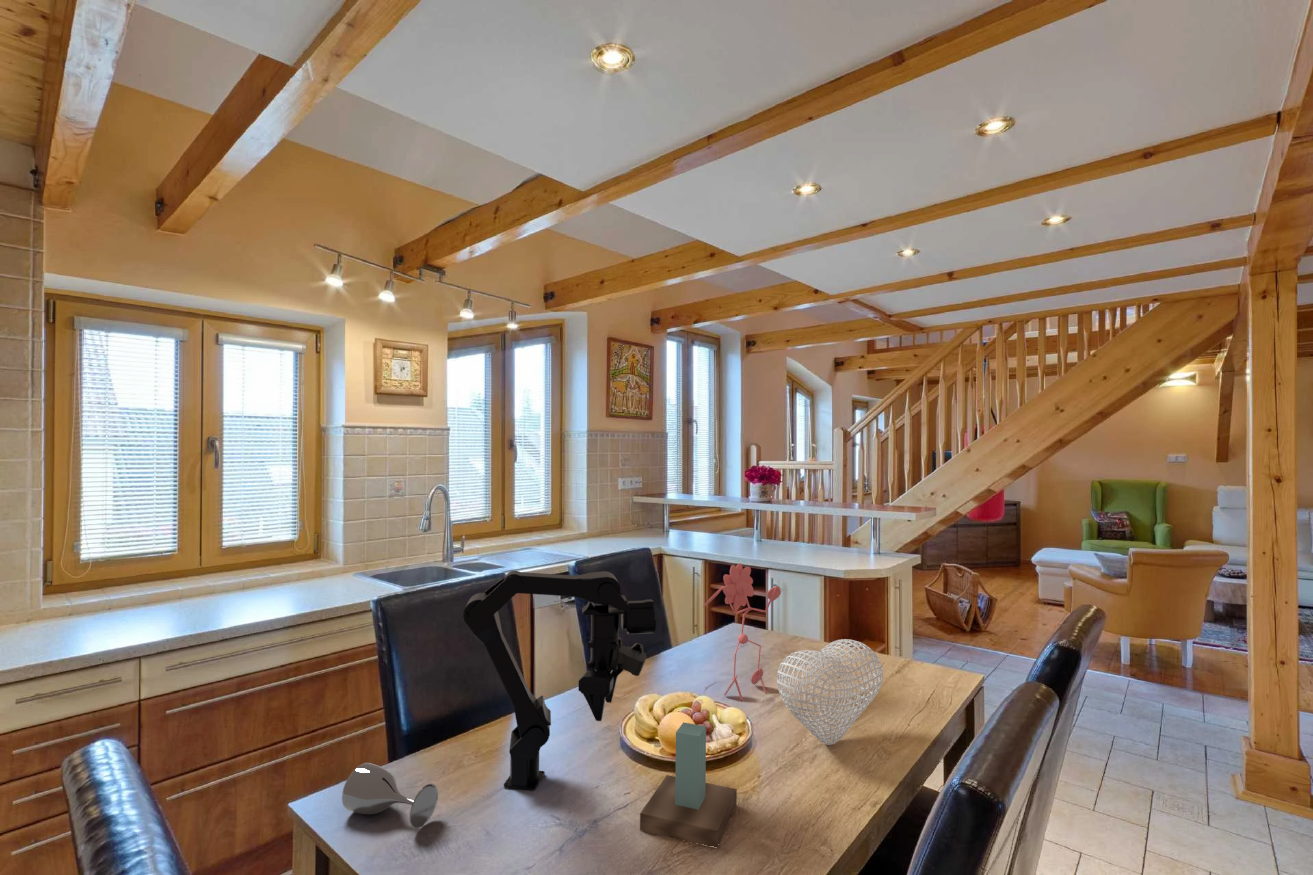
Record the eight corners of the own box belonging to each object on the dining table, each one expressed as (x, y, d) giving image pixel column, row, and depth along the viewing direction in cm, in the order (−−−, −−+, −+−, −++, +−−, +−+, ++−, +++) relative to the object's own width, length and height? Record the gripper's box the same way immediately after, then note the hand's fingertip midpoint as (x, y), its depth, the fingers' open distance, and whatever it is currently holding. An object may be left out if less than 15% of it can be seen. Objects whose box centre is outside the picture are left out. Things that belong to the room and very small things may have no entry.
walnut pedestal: (639, 830, 112) (640, 813, 112) (666, 790, 126) (666, 775, 126) (717, 848, 108) (717, 831, 108) (736, 805, 121) (736, 789, 121)
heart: (840, 717, 160) (840, 628, 161) (895, 740, 148) (896, 644, 148) (762, 748, 144) (763, 648, 144) (817, 777, 131) (818, 668, 131)
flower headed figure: (789, 687, 180) (787, 562, 181) (722, 710, 164) (720, 572, 165) (749, 672, 192) (748, 555, 193) (683, 692, 176) (682, 565, 177)
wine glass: (436, 771, 116) (372, 753, 121) (404, 804, 108) (338, 784, 114) (442, 807, 118) (378, 788, 123) (411, 842, 110) (345, 820, 116)
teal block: (675, 804, 115) (675, 732, 115) (682, 792, 119) (683, 722, 120) (698, 809, 114) (699, 736, 114) (705, 797, 118) (706, 726, 118)
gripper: (635, 651, 121) (634, 734, 121) (650, 624, 140) (649, 696, 139) (578, 648, 123) (577, 730, 123) (600, 621, 141) (600, 692, 141)
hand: (604, 711), depth 131 cm, fingers open, 9 cm apart
